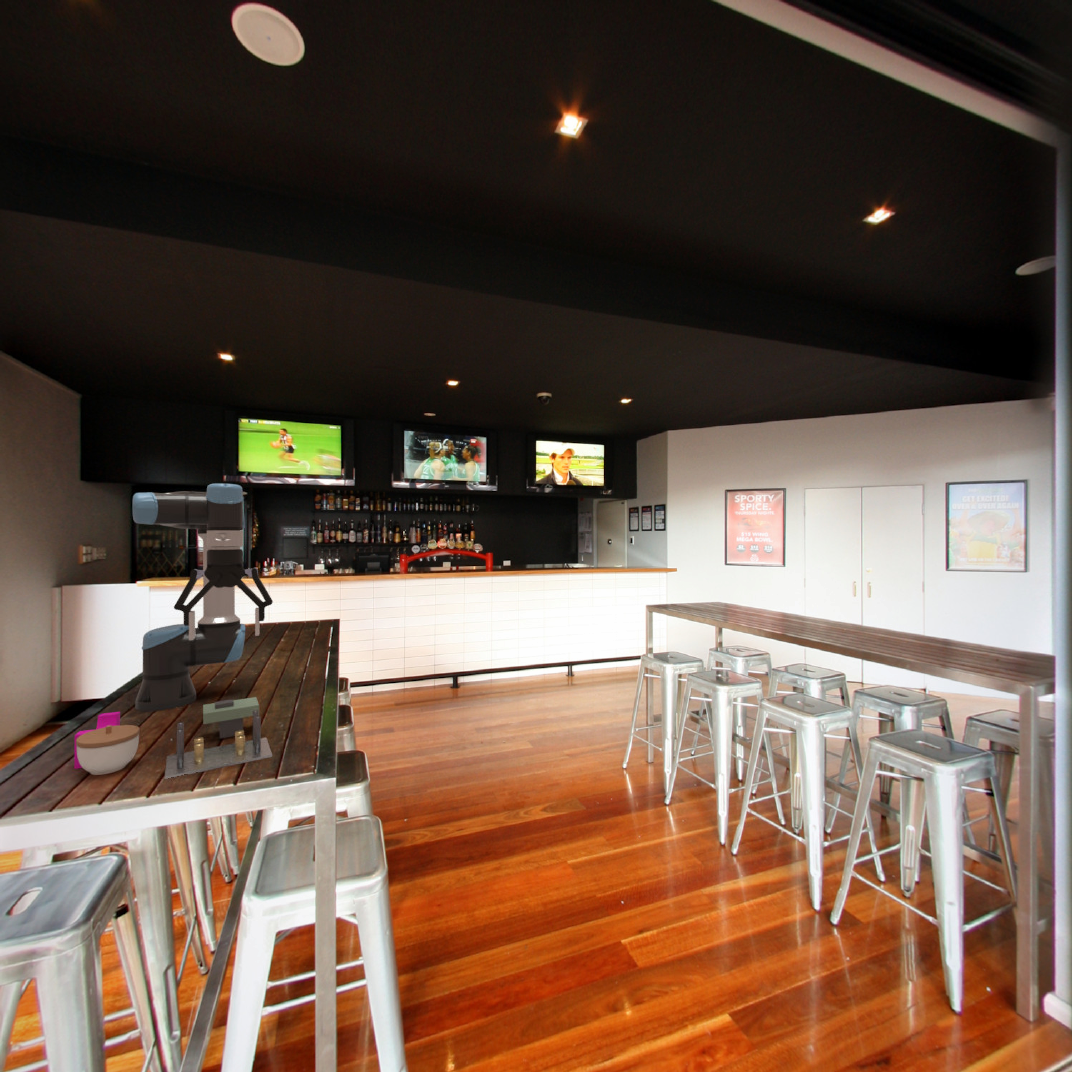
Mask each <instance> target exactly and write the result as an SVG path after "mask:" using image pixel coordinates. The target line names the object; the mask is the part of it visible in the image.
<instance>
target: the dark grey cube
mask: <svg viewBox="0 0 1072 1072" xmlns="http://www.w3.org/2000/svg"><path fill="white" fill-rule="evenodd" d="M218 723H219V727H218V728H219V729H218V730H219V731H218V732H219V739H227V738H232V737H235V732H236V731H238V730H244V718H238V719H232V720H226V721H220V722H218Z"/></svg>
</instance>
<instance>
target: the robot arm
mask: <svg viewBox="0 0 1072 1072" xmlns="http://www.w3.org/2000/svg"><path fill="white" fill-rule="evenodd" d="M244 499H245V497H244V495H243V487H242V486H241V485H239V484H235V483H234V484H233V483H211V484H209V485H207V488H206V491H184V490H183V491H182V490H181V491H174V492H162V493H161V492H152V491H151V492H149V491H148V492H135V493H134V494H133V496H132V517H133V518H132V519H133V521H134V523H136V524H139V525H140V524H141V525H142V524H143V525H160V526H164V527H170V528H171V527H172V528H176V529H183V530H184V529H185V530H188V529H189V530H196V531H197V532H196V534H197V536H198V537H199V538H200V539H202V560H203V561H202V563H203V564H202V569H197V568H194V569H191V570H190V575H189V580H188V582H187V583H186V585H185V587H184V588H183V590H182V592H181V594H180V596H179V597H178V599H177V601H176V602H175V604H174V606H173V609H174V610H176V611H181V612H182V613H183V623H177V624H171V625H166V626H165V625H164V626H161V627H157V628H154V629H151V630H148V631H147V632H146V633H145V634H144V635H143V637H142V647H141V650H142V682H141V685H140V688H139V690H138V693H137V696H136V698H135V702H134V705H135V710H136V711H139V712H160V711H167V710H166V709H168V710H173V709H177V708H176V707H178V708H181V706H182V707H185V706H187V705H186V704H188V705H190V704H192V703H194V702H195V701H196V700H197V691H196V688H195V686H194V684H193V681H192V679H191V677H190V667H199V666H205V665H213V664H214V665H215V664H222V663H223V664H226V663H231V662H236V661H238V660H239V659H241V657H242V656H243V652H244V646H245V638H246V624H244V623H241V618H240V617H239V616H237V614H236V610H235V607H236V605H235V604H236V603H235V601H236V599H235V597H236V596H235V592H236V591H235V589H236V587H237V588H238V589H240V590H241V591H242V592H243V593H244V594H245V595H246V596H247V597H248V599H250V600H251V601H252V602H253V603H254V604H255V605H256V607H255V609H254V616H255V617H254V619H255V621H254V625H255V626H254V635H255V637H257V636H260V628H261V627H260V625H261V622H264V621H265V617H266V616H265V611H266V610H265V609H266V607H269V606H271V605H272V604H273V602H274V601H273V599H272V597H271V595H270V594H269V592H268V590H267V588H266V587H265V585H264V583H263V580H261V578H260V577H259V570H258V568H257V567H253V568H248V569H247V568H246V569H245V567H244V550H243V549H241V548H242V547H243V546H244V529H245V527H246V522H245V513H244ZM245 575H248V576H247V577H249V578H252V580H253V582H254V584H255V586H256V587H257V589H258V591H259V593H260V594H261V596H262V598H263V599H264V601H263V600H262V599H260V597H259V596H258V595H256V593H255V592H254V591H253V590H252V589H250V588H249V586H248V585H247V584H246V583H245V582H244V581H243V580H242V579H243V578H244V576H245ZM201 578H203V580H202V581H203V583H202V584H203V587H202V589H200V590H199V592H198V593H197V594H196V595H194V597H193V598H192V599H191V600H190V601H189V602H188V603H187V604H185V603H186V601H187V599H188V597H189V596H190V594H191V593H192V591H193V589H194V586H195V585H196V583H197V582H198V580H199V579H201ZM235 586H236V587H235ZM201 599H203V600H202V604H203V605H202V607H203V608H202V611H203V613H202V614H203V615H202V617H201V618H200V619H199V620H198V621H197V627H196V611H195V610H193V608H194V607H196V605H197V603H199V602H200V601H201ZM184 705H185V706H184Z"/></svg>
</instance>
